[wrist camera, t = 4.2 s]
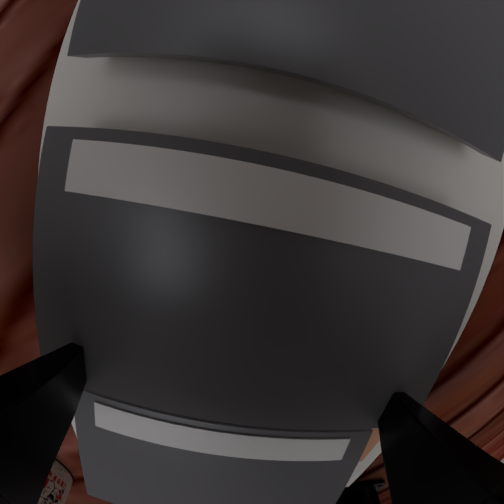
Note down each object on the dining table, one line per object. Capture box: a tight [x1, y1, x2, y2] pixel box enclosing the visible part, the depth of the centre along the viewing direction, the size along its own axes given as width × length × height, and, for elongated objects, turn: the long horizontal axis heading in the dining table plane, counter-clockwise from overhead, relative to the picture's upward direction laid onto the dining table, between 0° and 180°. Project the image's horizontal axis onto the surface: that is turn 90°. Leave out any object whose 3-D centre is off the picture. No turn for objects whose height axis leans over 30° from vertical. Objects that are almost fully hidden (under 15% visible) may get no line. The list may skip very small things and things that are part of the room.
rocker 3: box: [75, 388, 373, 504], centre depth 10 cm, size 12×7×1 cm, turn 78°
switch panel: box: [38, 0, 504, 487], centre depth 10 cm, size 18×29×3 cm, turn 168°
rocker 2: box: [33, 126, 491, 430], centre depth 7 cm, size 12×7×1 cm, turn 78°
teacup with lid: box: [38, 459, 73, 504], centre depth 12 cm, size 12×9×12 cm
